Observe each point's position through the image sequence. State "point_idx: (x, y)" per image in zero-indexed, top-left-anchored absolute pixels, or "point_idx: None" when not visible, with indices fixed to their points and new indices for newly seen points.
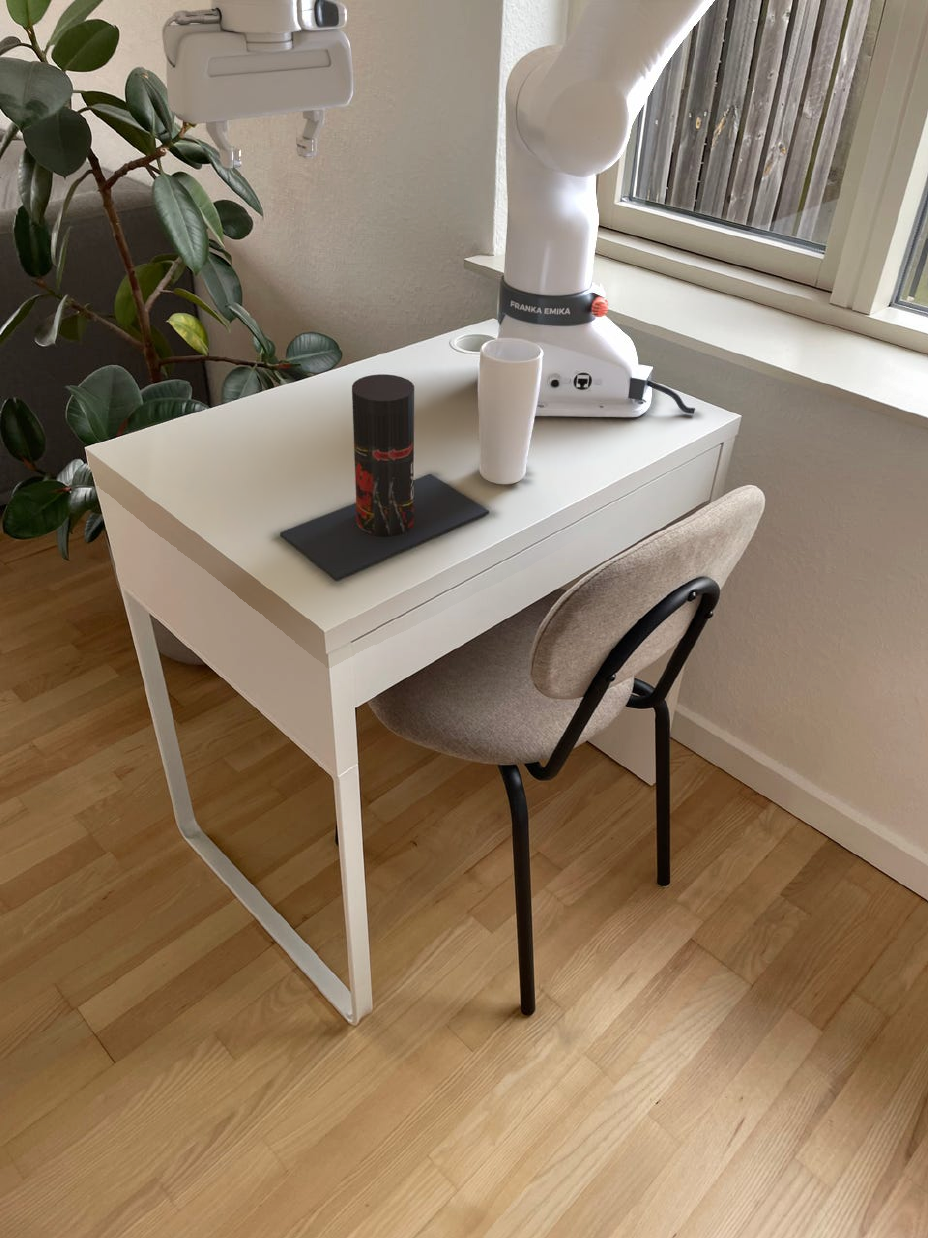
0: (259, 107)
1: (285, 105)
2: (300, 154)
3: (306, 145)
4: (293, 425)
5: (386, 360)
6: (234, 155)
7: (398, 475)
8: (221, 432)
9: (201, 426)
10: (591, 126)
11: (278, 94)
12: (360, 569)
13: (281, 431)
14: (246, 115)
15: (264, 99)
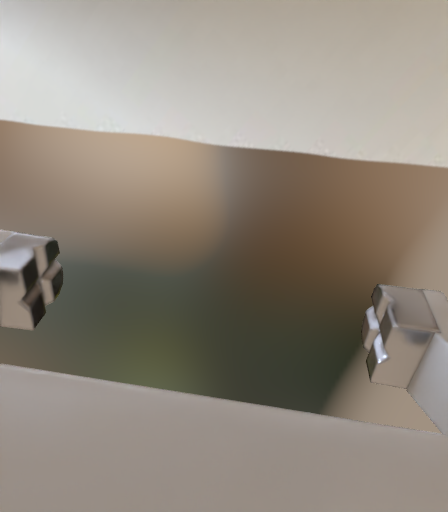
0: (304, 454)
1: (61, 408)
2: (59, 268)
3: (26, 256)
4: (290, 32)
5: (45, 112)
6: (425, 313)
7: None
8: (378, 92)
9: (382, 128)
10: None
11: (82, 505)
12: None
13: (317, 28)
14: (416, 435)
15: (242, 502)
